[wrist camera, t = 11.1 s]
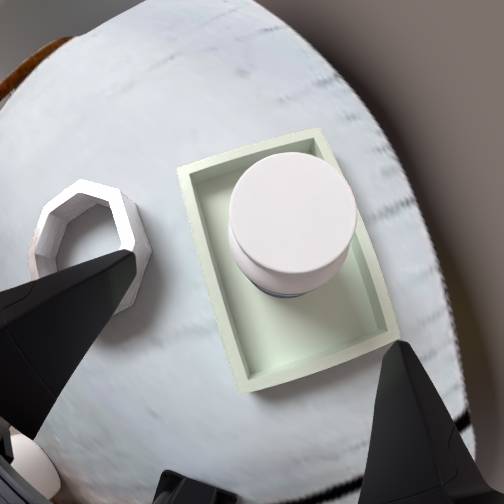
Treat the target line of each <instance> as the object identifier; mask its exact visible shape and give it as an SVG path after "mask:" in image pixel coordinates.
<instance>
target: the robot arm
mask: <svg viewBox="0 0 504 504" xmlns="http://www.w3.org/2000/svg"><path fill="white" fill-rule="evenodd" d="M136 274H137V266H136V255H135V253H134V252H132V251H130V250H127V249H122V250H119V251H116V252H113V253H110V254H107V255H104V256H101V257H98V258H95V259H92V260H89V261H86V262H83V263H80V264H77V265H75V266H72V267H69V268H66V269H63V270H61V271H58V272H55V273H52V274H50V275H47V276H44V277H41V278H39V279H37V280H33V281H31V282H28V283H25V284H23V285H20V286H17V287H14V288H11V289H8V290H5V291H1V292H0V504H53V503H52V502H51V501H49V500H48V499H47V498H46V497H45V496H43V495H42V494H41V493H40V492H39V491H37V490H36V489H35V488H34V487H33V486H32V485H31V484H29V483H28V482H27V481H26V480H25V479H24V478H23V477H22V476H21V475H20V474H19V473H18V472H17V471H16V470H15V469H14V468H13V467H12V466H11V463H12V462H13V460H14V455H13V449H12V443H11V436H10V430H9V428H10V426H11V425H12V426H13V427H14V428H15V429H17V430H18V431H19V432H21V433H22V434H24V435H25V436H26V437H28V438H29V439H31V440H32V441H33V440H34V438H35V437H36V435H37V433H38V431H39V429H40V428H41V426H42V424H43V422H44V420H45V419H46V417H47V415H48V414H49V412H50V410H51V408H52V407H53V405H54V403H55V402H56V400H57V398H58V396H59V395H60V393H61V391H62V390H63V388H64V387H65V385H66V383H67V382H68V380H69V379H70V377H71V375H72V374H73V372H74V371H75V369H76V368H77V366H78V365H79V363H80V362H81V360H82V359H83V357H84V356H85V354H86V353H87V351H88V350H89V348H90V347H91V345H92V344H93V342H94V341H95V339H96V338H97V336H98V335H99V334H100V332H101V331H102V329H103V328H104V326H105V325H106V324H107V322H108V321H109V319H110V318H111V317H112V315H113V314H114V312H115V311H116V309H117V308H118V306H119V304H120V303H121V301H122V299H123V297H124V296H125V294H126V292H127V291H128V289H129V287H130V286H131V284H132V282H133V281H134V279H135V277H136ZM166 474H168V475H169V476H167V475H166ZM230 498H233V499H230ZM237 498H238V497H237V495H236V494H234V493H230V492H227V491H224V490H221V489H217V488H214V487H211V486H209V485H206V484H203V483H200V482H197V481H195V480H192V479H190V478H187V477H185V476H182V475H180V474H177V473H175V472H173V471H170V470H164V471H163V472H162V474H161V477H160V480H159V483H158V486H157V490H156V493H155V496H154V499H153V503H152V504H236V502H237ZM358 504H504V494H503V493H500V492H498V491H496V490H494V489H493V488H491V487H490V486H489V485H488V484H487V483H486V481H485V480H484V478H483V476H482V474H481V473H480V471H479V469H478V467H477V465H476V464H475V462H474V460H473V458H472V456H471V455H470V453H469V451H468V449H467V447H466V446H465V444H464V442H463V440H462V438H461V436H460V434H459V432H458V430H457V428H456V426H455V425H454V422H453V420H452V418H451V416H450V414H449V412H448V410H447V408H446V407H445V405H444V403H443V401H442V399H441V397H440V395H439V394H438V392H437V390H436V388H435V386H434V385H433V383H432V381H431V379H430V378H429V376H428V374H427V372H426V371H425V369H424V367H423V366H422V364H421V362H420V361H419V359H418V357H417V356H416V354H415V352H414V351H413V349H412V347H411V346H410V344H409V343H408V342H405V341H401V340H397V341H395V343H394V344H393V345H392V346H391V347H390V349H389V350H388V351H387V352H386V354H385V355H384V357H383V360H382V366H381V372H380V377H379V383H378V388H377V393H376V399H375V406H374V416H373V424H372V432H371V439H370V446H369V452H368V458H367V463H366V469H365V474H364V479H363V484H362V488H361V493H360V497H359V501H358Z"/></svg>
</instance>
